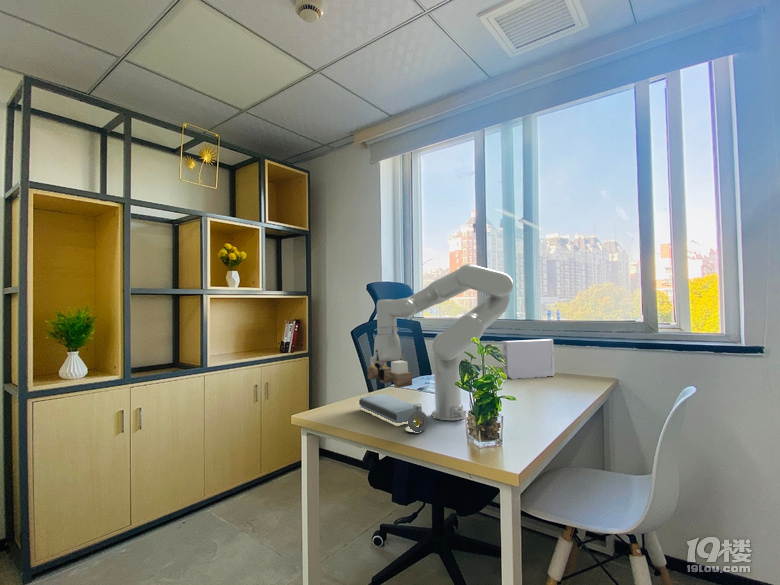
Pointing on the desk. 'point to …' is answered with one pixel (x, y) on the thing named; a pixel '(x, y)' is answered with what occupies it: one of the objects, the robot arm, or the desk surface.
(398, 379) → the brown blocks
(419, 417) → the pocket watch
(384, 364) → the mustard box
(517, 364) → the game console
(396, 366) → the cream box
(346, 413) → the desk surface
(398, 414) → the dock
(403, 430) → the desk surface
